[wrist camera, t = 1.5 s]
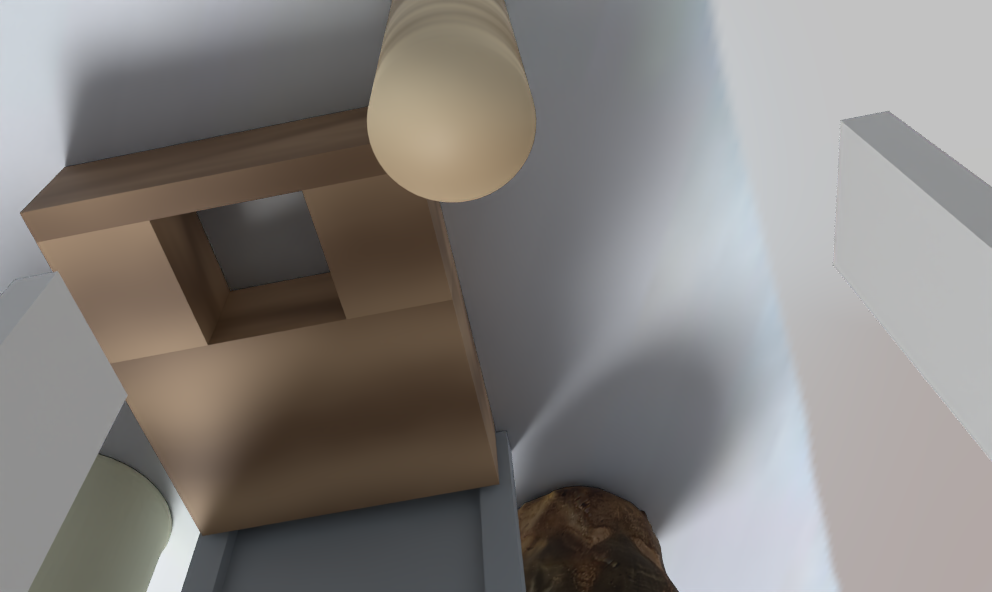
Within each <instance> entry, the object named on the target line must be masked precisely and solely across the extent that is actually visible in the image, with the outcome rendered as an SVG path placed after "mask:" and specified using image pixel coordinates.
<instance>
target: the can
mask: <svg viewBox="0 0 992 592" xmlns="http://www.w3.org/2000/svg"><path fill="white" fill-rule="evenodd" d="M171 529H172V520H171V514H170V511H169V507H168V505H167V503H166V501H165V499H164V498H163V496H162V495H161V493H160V492H159V491H158V489H157V488H156V487H155V486H154V485H153V484H152V483H151V482H150V481H149V480H148V479H146V478H145V477H144V476H143V475H141V474H140V473H138V472H137V471H135V470H134V469H132V468H130V467H129V466H127V465H125V464H123V463H121V462H118V461H116V460H114V459H112V458H109V457H106V456H103V455H100V454H98V455H97V457H96V459H95V461H94V463H93V465H92V467H91V468H90V470H89V472H88V474H87V476H86V478H85V480H84V482H83V484H82V486H81V488H80V490H79V492H78V494H77V496H76V498H75V500H74V502H73V504H72V506H71V508H70V510H69V512H68V514H67V516H66V518H65V520H64V522H63V524H62V525H61V527H60V529H59V531H58V533H57V535H56V537H55V539H54V541H53V543H52V545H51V547H50V549H49V551H48V553H47V555H46V557H45V559H44V561H43V563H42V565H41V567H40V569H39V571H38V573H37V575H36V577H35V579H34V580H33V582H32V584H31V586H30V588H29V590H28V592H146V591H147V588H148V585H149V583H150V580H151V577H152V575H153V572H154V570H155V567H156V564H157V562H158V559H159V557H160V555H161V553H162V551H163V550H164V548H165V547H166V545H167V543H168V541H169V538H170V535H171Z"/></svg>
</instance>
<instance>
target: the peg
mask: <svg viewBox="0 0 992 592" xmlns="http://www.w3.org/2000/svg"><path fill="white" fill-rule="evenodd" d="M367 130H368V136H369V140H370V144H371V147H372V150H373V152H374V154H375V156H376V158H377V160H378V162H379V163H380V165H381V166H382V168H383V169H384V170H385V171H386V173H387V174H388V175H389V176H390V177H391V178H392V179H393V180H394V181H395V182H397V183H398V184H399V185H400V186H402V187H403V188H405V189H406V190H408V191H410V192H412V193H414V194H416V195H418V196H421V197H423V198H426V199H430V200H434V201H440V202H464V201H470V200H474V199H478V198H481V197H484V196H486V195H489V194H491V193H493V192H494V191H496V190H498V189H499V188H501V187H502V186H504V185H505V184H506V183H508V182H509V181H510V180H511V179H512V178H513V177H514V176H515V175H516V174H517V173H518V171H519V170H520V169H521V167H522V166H523V164H524V163H525V161H526V160H527V158H528V155H529V153H530V151H531V148H532V145H533V142H534V138H535V132H536V113H535V106H534V102H533V98H532V95H531V91H530V88H529V84H528V81H527V77H526V74H525V71H524V67H523V64H522V60H521V57H520V53H519V50H518V46H517V43H516V39H515V36H514V33H513V29H512V26H511V22H510V19H509V15H508V12H507V8H506V5H505V2H504V0H392V3H391V7H390V12H389V16H388V21H387V25H386V29H385V34H384V38H383V43H382V47H381V52H380V56H379V61H378V65H377V70H376V74H375V79H374V83H373V88H372V92H371V96H370V101H369V106H368V111H367Z"/></svg>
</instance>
